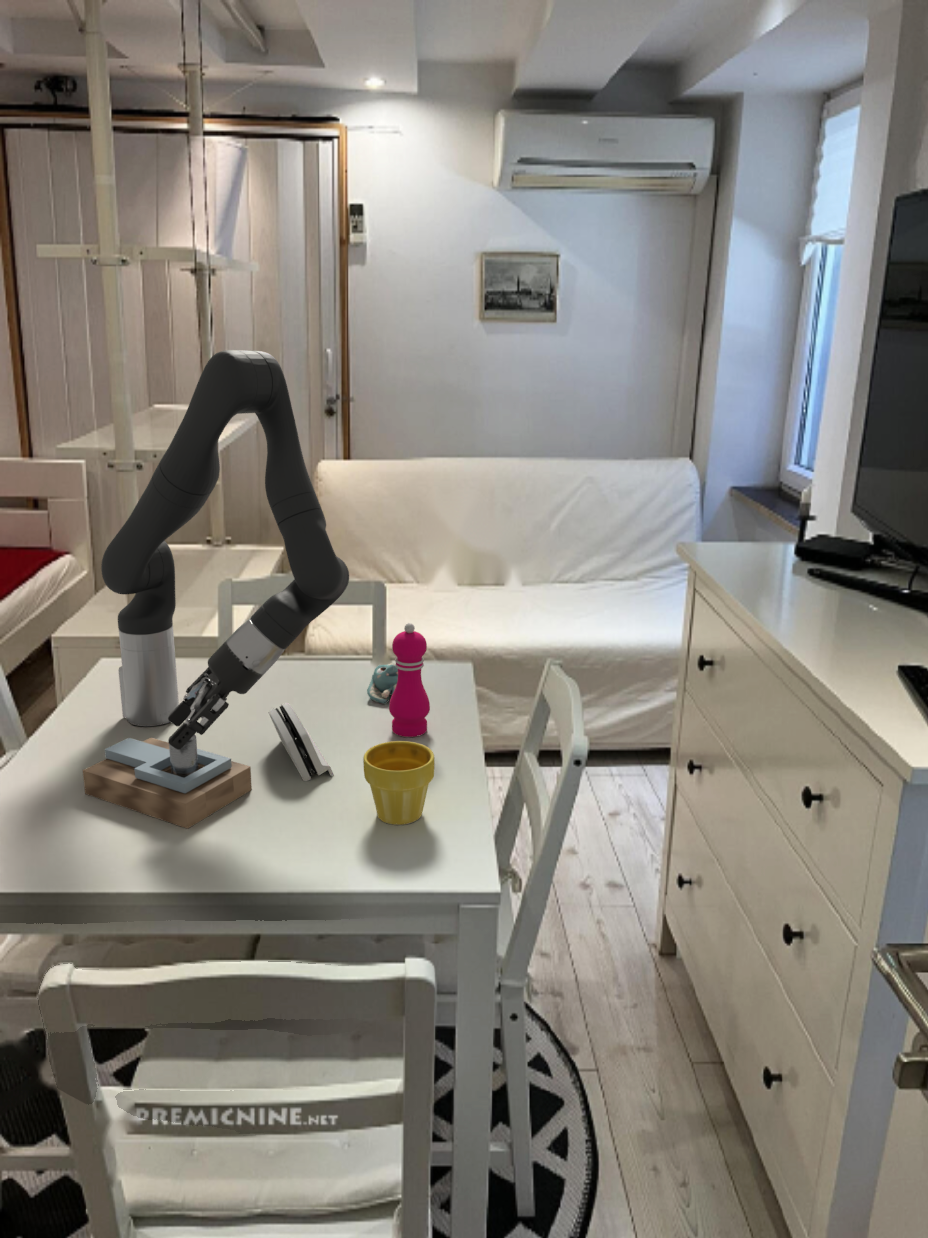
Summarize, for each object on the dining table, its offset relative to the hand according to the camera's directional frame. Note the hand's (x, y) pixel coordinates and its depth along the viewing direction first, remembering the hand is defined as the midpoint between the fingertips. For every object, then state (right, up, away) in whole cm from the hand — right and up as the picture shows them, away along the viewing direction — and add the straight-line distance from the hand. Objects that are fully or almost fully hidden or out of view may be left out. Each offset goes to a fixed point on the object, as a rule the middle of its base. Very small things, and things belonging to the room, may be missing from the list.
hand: (172, 733), depth 150 cm
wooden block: (-2, -10, +5) cm, 11 cm away
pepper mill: (+34, -3, +29) cm, 45 cm away
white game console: (+16, -7, +17) cm, 24 cm away
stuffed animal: (+30, +2, +44) cm, 53 cm away
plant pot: (+34, -12, 0) cm, 36 cm away
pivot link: (-3, -5, +4) cm, 7 cm away
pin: (+1, -10, +4) cm, 11 cm away
